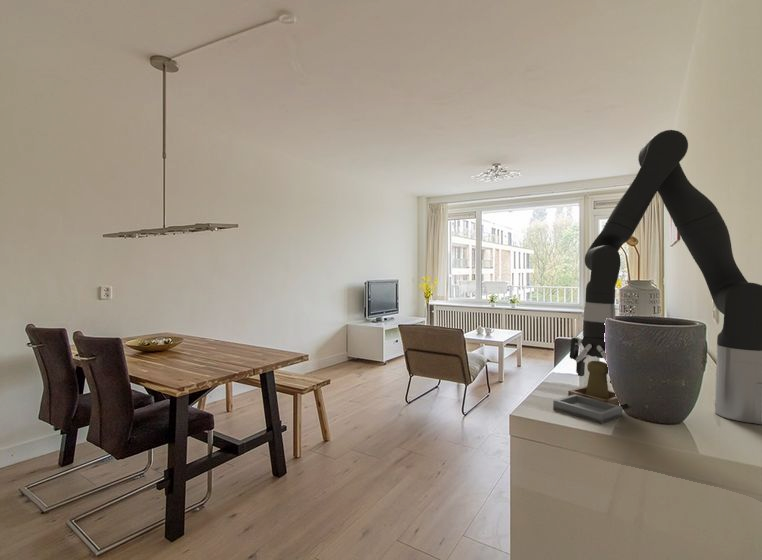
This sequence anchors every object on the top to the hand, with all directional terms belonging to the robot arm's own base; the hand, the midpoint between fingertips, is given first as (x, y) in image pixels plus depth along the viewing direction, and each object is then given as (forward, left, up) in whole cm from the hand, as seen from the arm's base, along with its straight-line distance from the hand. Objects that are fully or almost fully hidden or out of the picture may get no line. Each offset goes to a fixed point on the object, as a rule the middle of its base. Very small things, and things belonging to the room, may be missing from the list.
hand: (596, 379), depth 107 cm
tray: (-3, +11, -6) cm, 13 cm away
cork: (0, 0, -6) cm, 6 cm away
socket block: (0, 0, -6) cm, 6 cm away
